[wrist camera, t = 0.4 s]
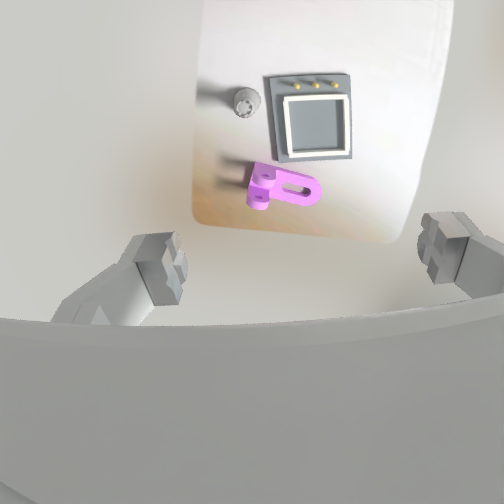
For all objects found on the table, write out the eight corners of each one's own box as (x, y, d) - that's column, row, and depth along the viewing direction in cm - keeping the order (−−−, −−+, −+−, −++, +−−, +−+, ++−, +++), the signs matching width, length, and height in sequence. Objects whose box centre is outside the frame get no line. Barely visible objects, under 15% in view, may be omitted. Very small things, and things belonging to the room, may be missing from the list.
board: (269, 77, 44) (269, 79, 41) (348, 74, 43) (353, 76, 40) (278, 161, 53) (279, 168, 50) (350, 156, 52) (355, 163, 49)
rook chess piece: (266, 102, 47) (266, 111, 40) (244, 117, 49) (241, 129, 42) (249, 82, 45) (247, 87, 38) (228, 97, 47) (221, 105, 40)
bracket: (247, 188, 57) (245, 206, 51) (255, 161, 53) (253, 176, 48) (314, 205, 58) (319, 224, 53) (324, 180, 55) (331, 197, 49)
